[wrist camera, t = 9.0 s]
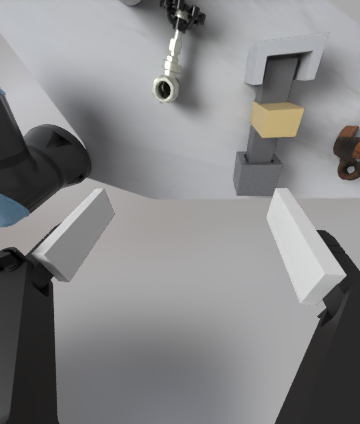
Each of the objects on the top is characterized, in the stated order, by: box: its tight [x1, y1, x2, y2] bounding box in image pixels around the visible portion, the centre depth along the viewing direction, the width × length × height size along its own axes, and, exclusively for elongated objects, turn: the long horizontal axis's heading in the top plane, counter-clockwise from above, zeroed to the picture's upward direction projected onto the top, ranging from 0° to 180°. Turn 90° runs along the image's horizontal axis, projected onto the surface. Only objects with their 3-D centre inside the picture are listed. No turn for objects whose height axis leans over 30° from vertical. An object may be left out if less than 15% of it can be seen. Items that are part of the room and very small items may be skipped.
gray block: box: [233, 151, 283, 196], centre depth 37 cm, size 7×7×7 cm
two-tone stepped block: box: [245, 58, 305, 163], centre depth 28 cm, size 4×17×10 cm, turn 5°
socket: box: [244, 32, 329, 85], centre depth 25 cm, size 8×4×8 cm, turn 95°
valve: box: [153, 0, 206, 103], centre depth 28 cm, size 7×7×12 cm
